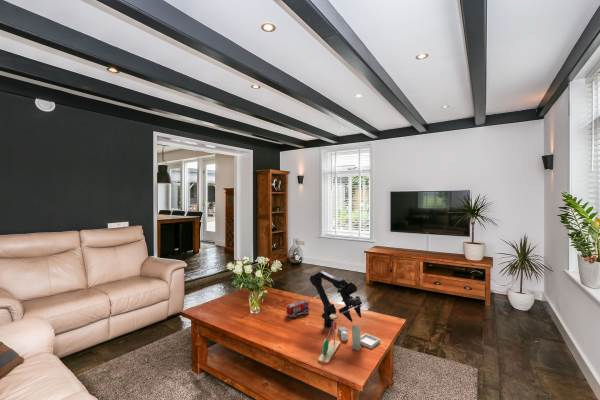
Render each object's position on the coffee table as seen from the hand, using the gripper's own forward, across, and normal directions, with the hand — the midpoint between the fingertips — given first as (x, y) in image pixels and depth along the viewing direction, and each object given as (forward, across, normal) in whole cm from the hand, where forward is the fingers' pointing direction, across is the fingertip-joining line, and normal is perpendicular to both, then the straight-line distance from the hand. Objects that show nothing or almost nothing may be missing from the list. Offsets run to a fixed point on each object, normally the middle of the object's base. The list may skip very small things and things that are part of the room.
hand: (356, 319), depth 190 cm
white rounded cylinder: (+8, -6, +12) cm, 15 cm away
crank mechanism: (+10, -25, +8) cm, 28 cm away
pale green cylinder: (+14, -9, +2) cm, 17 cm away
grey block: (+5, -2, +16) cm, 17 cm away
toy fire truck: (-20, -4, +53) cm, 57 cm away
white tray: (+15, +2, +1) cm, 15 cm away
